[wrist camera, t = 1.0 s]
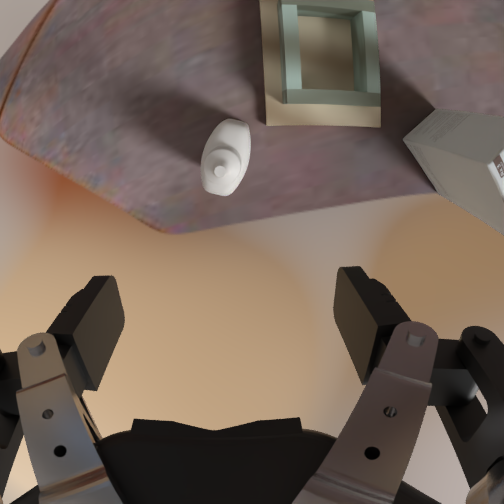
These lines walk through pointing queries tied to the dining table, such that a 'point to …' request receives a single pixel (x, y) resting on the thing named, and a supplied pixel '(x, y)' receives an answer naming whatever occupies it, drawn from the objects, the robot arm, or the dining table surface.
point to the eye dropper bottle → (225, 157)
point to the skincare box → (464, 160)
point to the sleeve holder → (320, 62)
